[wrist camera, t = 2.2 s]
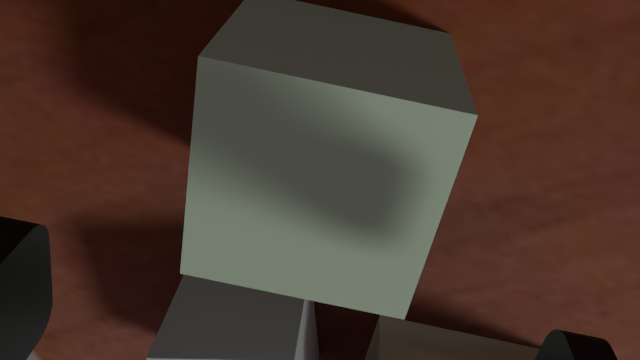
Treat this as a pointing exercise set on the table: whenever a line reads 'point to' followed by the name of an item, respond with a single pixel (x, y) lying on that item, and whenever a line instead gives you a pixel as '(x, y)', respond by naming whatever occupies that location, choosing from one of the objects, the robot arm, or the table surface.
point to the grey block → (235, 324)
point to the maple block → (438, 344)
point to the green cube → (322, 154)
